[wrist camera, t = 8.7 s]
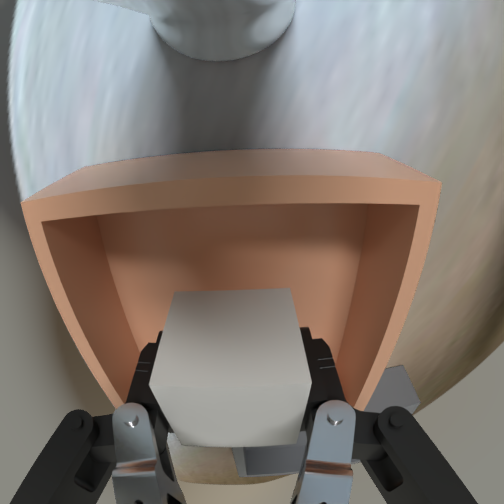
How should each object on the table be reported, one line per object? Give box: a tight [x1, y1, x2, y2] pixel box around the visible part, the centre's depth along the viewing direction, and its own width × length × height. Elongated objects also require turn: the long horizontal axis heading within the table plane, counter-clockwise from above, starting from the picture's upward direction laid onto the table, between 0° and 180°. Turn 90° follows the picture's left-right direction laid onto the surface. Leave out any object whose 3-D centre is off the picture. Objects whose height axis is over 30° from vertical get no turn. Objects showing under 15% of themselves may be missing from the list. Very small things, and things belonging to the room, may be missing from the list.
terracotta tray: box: [21, 149, 442, 411], centre depth 13 cm, size 14×14×5 cm
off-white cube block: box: [149, 288, 312, 447], centre depth 10 cm, size 4×4×4 cm
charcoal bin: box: [232, 365, 421, 477], centre depth 21 cm, size 14×12×4 cm
